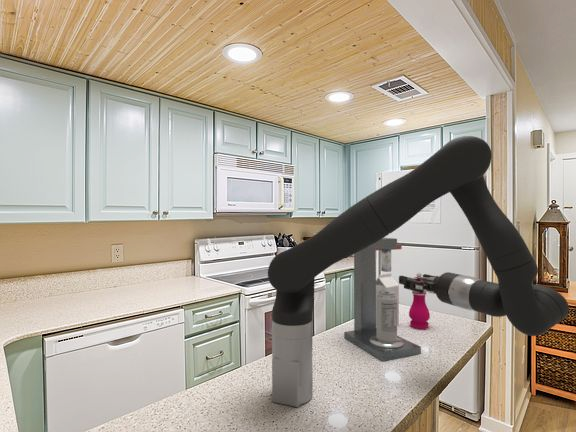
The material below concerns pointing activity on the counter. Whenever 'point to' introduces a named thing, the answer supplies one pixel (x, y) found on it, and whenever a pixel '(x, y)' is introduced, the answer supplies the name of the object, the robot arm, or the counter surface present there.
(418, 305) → the pepper mill
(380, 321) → the energy drink can
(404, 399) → the counter surface
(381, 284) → the milk carton
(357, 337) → the arbor press
